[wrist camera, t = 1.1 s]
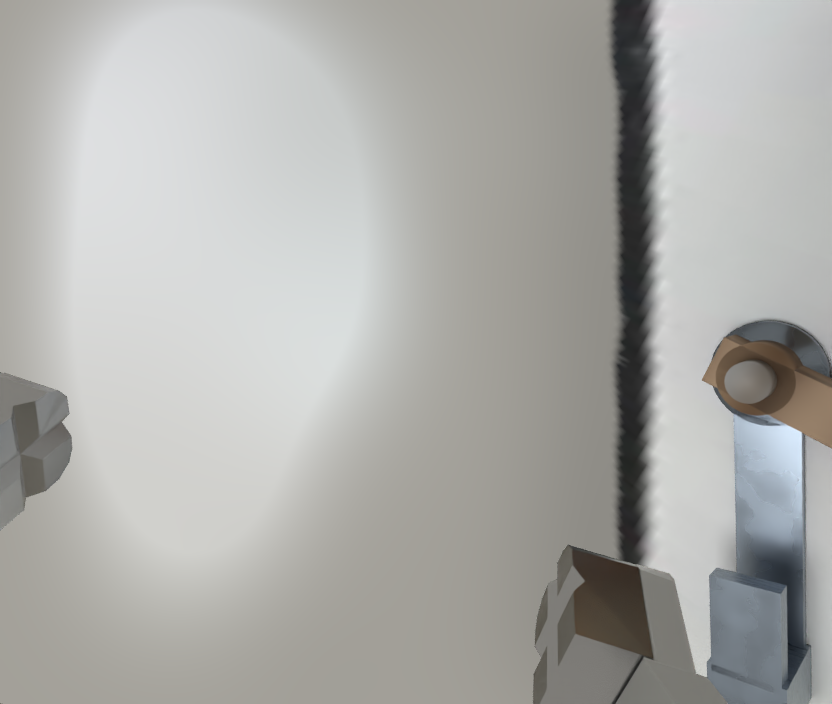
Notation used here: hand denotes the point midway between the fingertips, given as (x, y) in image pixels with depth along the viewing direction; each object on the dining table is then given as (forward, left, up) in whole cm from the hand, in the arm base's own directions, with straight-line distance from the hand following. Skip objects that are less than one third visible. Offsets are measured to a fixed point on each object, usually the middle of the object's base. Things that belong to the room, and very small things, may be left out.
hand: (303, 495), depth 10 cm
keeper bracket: (+11, +10, -44) cm, 46 cm away
